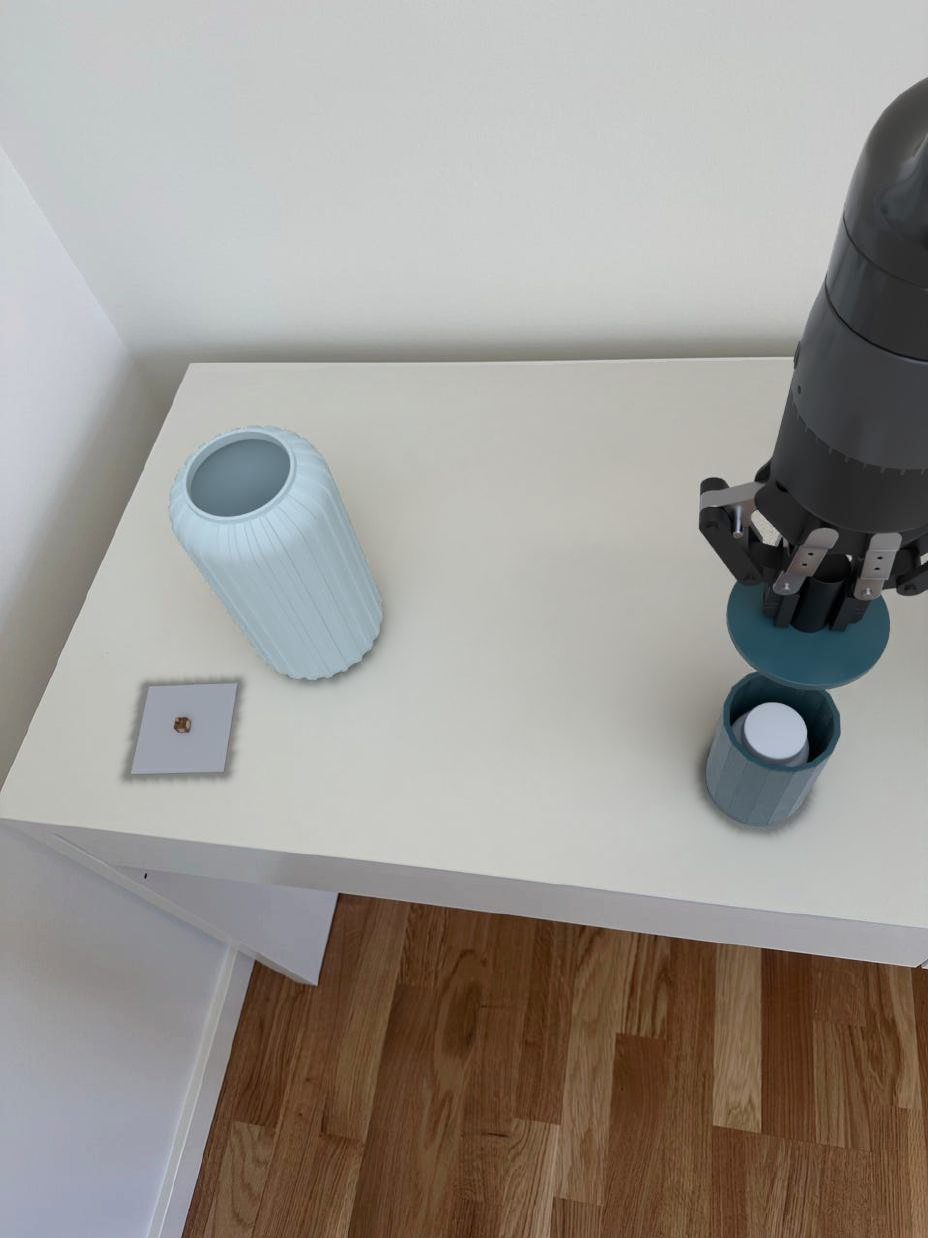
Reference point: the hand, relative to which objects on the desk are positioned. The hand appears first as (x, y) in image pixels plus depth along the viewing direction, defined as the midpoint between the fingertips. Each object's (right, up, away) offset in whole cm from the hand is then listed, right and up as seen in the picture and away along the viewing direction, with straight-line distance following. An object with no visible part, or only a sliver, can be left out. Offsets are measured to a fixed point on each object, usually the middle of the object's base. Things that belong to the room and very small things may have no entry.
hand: (808, 613), depth 49 cm
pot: (+4, -12, +20) cm, 24 cm away
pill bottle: (+3, -12, +20) cm, 23 cm away
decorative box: (-42, -10, +28) cm, 51 cm away
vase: (-30, -2, +31) cm, 44 cm away
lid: (0, 0, +1) cm, 1 cm away
